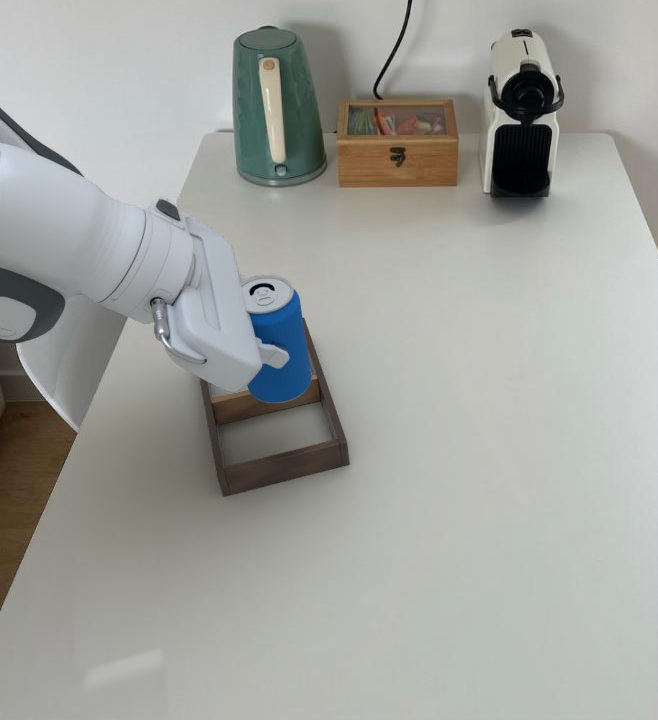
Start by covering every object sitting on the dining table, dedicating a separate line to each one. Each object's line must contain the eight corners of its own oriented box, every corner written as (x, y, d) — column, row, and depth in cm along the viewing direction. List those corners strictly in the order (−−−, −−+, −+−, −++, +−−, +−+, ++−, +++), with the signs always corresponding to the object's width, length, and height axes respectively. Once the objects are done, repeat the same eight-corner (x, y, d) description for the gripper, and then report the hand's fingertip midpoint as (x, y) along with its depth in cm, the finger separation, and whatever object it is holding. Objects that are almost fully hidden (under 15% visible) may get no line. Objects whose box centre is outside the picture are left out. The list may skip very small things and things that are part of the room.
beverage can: (304, 358, 85) (290, 265, 77) (318, 399, 81) (305, 305, 73) (243, 372, 84) (222, 279, 76) (254, 415, 80) (233, 321, 71)
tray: (223, 497, 84) (216, 474, 82) (199, 363, 99) (193, 341, 97) (349, 464, 87) (347, 442, 84) (307, 339, 102) (304, 317, 100)
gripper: (180, 318, 61) (320, 382, 69) (160, 185, 75) (278, 251, 84) (134, 374, 63) (276, 429, 72) (124, 234, 78) (242, 294, 86)
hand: (277, 332), depth 78 cm, fingers closed on beverage can, 6 cm apart
